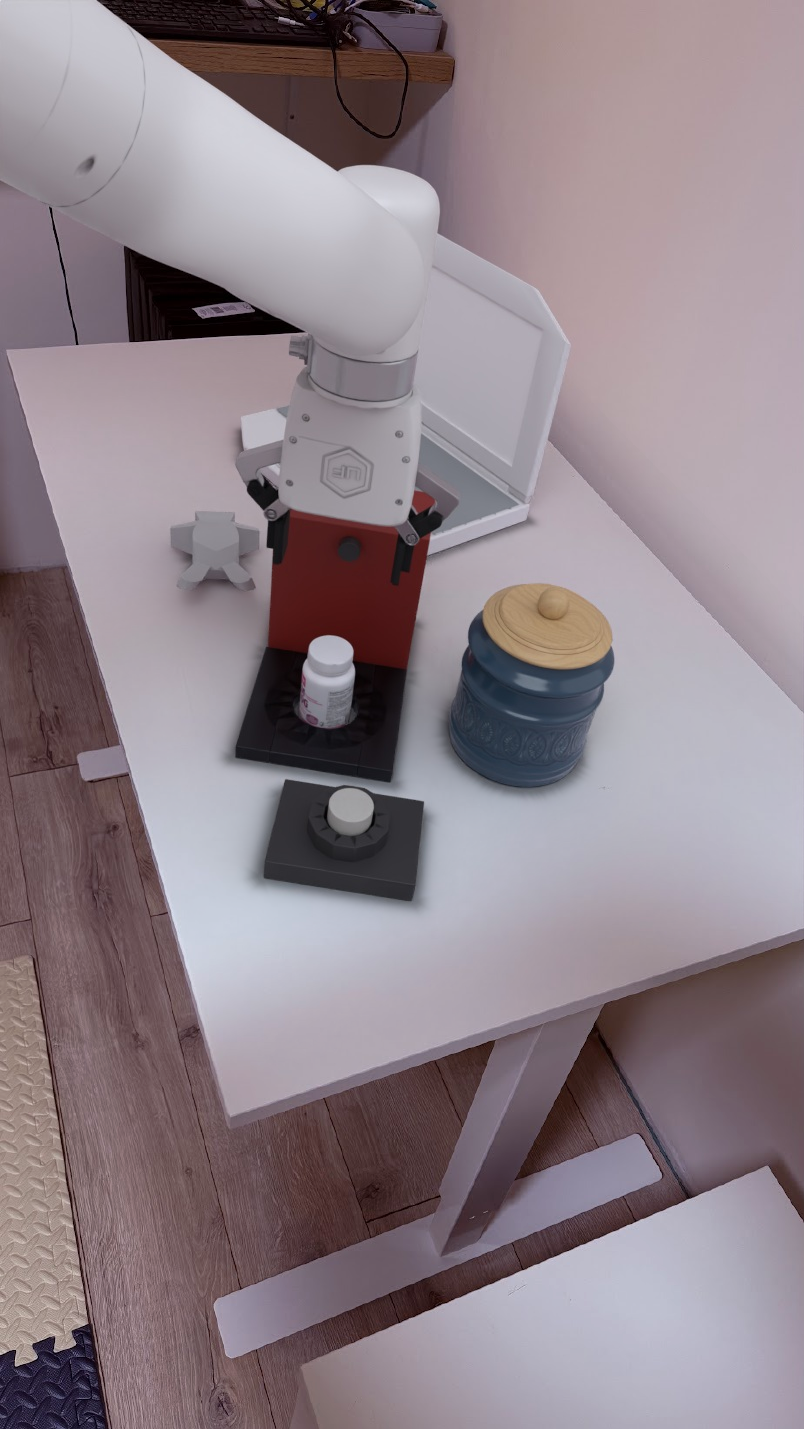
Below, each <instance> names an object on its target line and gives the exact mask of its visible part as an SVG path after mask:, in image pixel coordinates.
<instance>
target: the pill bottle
mask: <svg viewBox="0 0 804 1429" xmlns="http://www.w3.org/2000/svg"><path fill="white" fill-rule="evenodd" d="M352 661H353V648H352V646H351V644H350V643H349V642H348V641H346V640H345V639H343V638H341V637H338V636H331V635H326V636H321V637H318V638H316V639H314V640H313V641H312V642H311V643H310V645H309V650H308V657H307V659H306V660H305V662H304V665H303V670H302V683H301V696H300V702H299V709H298V715H299V716H298V717H299V718H300V719H301V720H302V721H303V722H306V723H308V724H310V725H312V726H314V727H319V728H325V729H332V728H340V727H342V726H345V725H347V724H349V720H350V717H351V710H352V706H351V703H352V695H353V687H354V679H355V667H354V665H353V663H352Z"/></svg>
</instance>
